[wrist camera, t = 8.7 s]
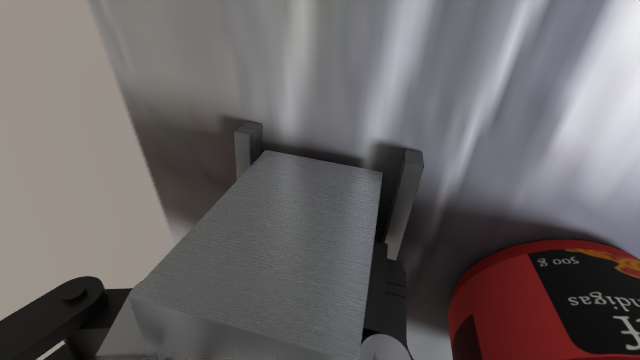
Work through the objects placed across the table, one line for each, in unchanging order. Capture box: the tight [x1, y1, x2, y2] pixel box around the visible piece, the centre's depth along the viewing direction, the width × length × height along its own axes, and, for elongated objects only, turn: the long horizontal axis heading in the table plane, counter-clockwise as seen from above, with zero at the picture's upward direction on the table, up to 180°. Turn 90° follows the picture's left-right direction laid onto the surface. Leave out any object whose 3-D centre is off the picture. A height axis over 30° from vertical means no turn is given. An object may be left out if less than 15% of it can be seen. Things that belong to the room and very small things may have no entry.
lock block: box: [128, 150, 383, 360], centre depth 10 cm, size 6×5×7 cm
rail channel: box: [234, 122, 424, 260], centre depth 13 cm, size 9×7×3 cm
